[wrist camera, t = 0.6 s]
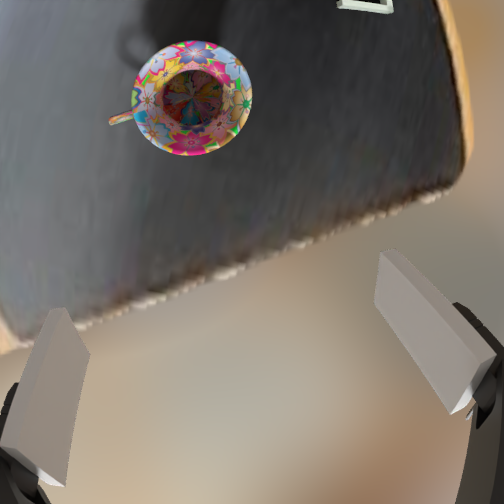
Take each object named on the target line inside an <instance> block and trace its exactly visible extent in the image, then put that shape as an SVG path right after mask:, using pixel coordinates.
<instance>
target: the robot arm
mask: <svg viewBox="0 0 504 504" xmlns="http://www.w3.org/2000/svg"><path fill="white" fill-rule="evenodd" d="M374 305H375V306H376V307H377V309H378V310H379V311H380V313H381V314H382V315H383V317H384V318H385V320H386V321H387V322H388V324H389V325H390V326H391V328H392V329H393V331H394V332H395V334H396V335H397V336H398V338H399V339H400V341H401V342H402V344H403V345H404V346H405V348H406V349H407V351H408V352H409V354H410V355H411V356H412V358H413V359H414V361H415V362H416V364H417V365H418V367H419V368H420V370H421V371H422V372H423V374H424V376H425V377H426V378H427V380H428V382H429V383H430V384H431V386H432V388H433V389H434V391H435V392H436V394H437V395H438V397H439V398H440V400H441V401H442V403H443V405H444V406H445V408H446V409H447V411H448V412H449V414H450V415H451V414H453V413H455V412H457V411H458V410H460V409H462V408H464V407H466V405H467V404H468V402H469V401H470V399H471V398H472V396H473V398H474V399H475V401H476V403H475V404H474V406H473V407H472V409H471V410H470V411H469V413H468V414H467V417H466V419H465V420H468V419H469V418H470V417H471V415H472V414H473V416H472V424H471V431H470V437H469V444H468V449H467V456H466V460H465V465H464V470H463V474H462V479H461V483H460V487H459V491H458V495H457V498H456V502H455V504H504V347H503V346H502V345H501V344H500V342H499V341H498V340H497V339H496V338H495V337H494V336H493V334H492V333H491V332H490V331H489V330H488V329H487V328H486V327H485V326H483V324H482V323H481V321H480V320H479V319H477V317H476V316H475V315H474V314H473V313H472V312H471V311H470V310H469V309H468V308H466V307H465V306H463V305H461V304H460V303H458V302H456V303H453V304H451V303H450V302H449V301H448V300H447V299H446V298H445V297H444V296H443V295H442V293H441V292H440V291H439V290H438V289H437V288H436V287H435V286H434V285H432V283H431V282H430V281H429V280H428V279H427V278H426V277H425V276H424V275H423V274H422V273H421V272H420V271H418V269H417V268H415V267H414V266H413V265H412V264H411V263H410V262H409V261H408V260H407V259H406V258H405V257H404V256H403V255H402V254H401V253H399V251H398V250H397V249H396V248H394V249H390V250H385V251H381V252H380V259H379V268H378V276H377V284H376V291H375V297H374ZM89 357H90V353H89V351H88V350H87V348H86V346H85V344H84V343H83V341H82V339H81V337H80V335H79V333H78V331H77V330H76V328H75V326H74V324H73V322H72V320H71V318H70V316H69V314H68V312H67V310H66V308H65V307H62V308H55V309H50V311H49V313H48V316H47V318H46V320H45V322H44V324H43V326H42V328H41V331H40V333H39V335H38V337H37V340H36V342H35V344H34V347H33V349H32V351H31V354H30V356H29V359H28V361H27V364H26V366H25V369H24V371H23V374H22V376H21V379H20V382H19V383H14V385H13V386H12V387H11V389H10V390H9V392H8V393H7V396H6V399H5V401H4V406H3V407H2V410H1V415H0V504H51V503H50V501H49V499H48V498H47V496H46V494H45V492H44V491H43V489H42V488H41V487H40V485H38V478H40V479H41V480H43V481H44V482H46V483H47V484H49V485H56V486H63V487H65V485H66V476H67V468H68V461H69V453H70V448H71V442H72V436H73V429H74V425H75V419H76V414H77V409H78V404H79V400H80V395H81V390H82V386H83V382H84V377H85V373H86V369H87V364H88V361H89Z"/></svg>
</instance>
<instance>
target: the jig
mask: <svg viewBox="0 0 504 504" xmlns="http://www.w3.org/2000/svg"><path fill="white" fill-rule="evenodd" d="M380 3H381V4H375V3H368V2H361V1H353V0H340V1H338V2H337V8H345V9H355V10H363V11H371V12H378V13H385V14H389V13H392V12H394V11H393V5H392V0H380Z"/></svg>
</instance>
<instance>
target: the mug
mask: <svg viewBox="0 0 504 504" xmlns="http://www.w3.org/2000/svg"><path fill="white" fill-rule="evenodd" d="M251 103H252V88H251V83H250V79H249V76H248V74H247V72H246V70H245V68H244V66H243V65H242V63H241V62H240V61H239V60H238V59H237V58H236V57H235V56H234V55H233V54H232V53H231V52H229V51H228V50H226V49H225V48H223V47H221V46H219V45H216V44H214V43H210V42H206V41H197V40H193V41H183V42H178V43H175V44H172V45H170V46H167V47H165V48H163V49H162V50H160V51H158V52H157V53H156V54H154V55H153V56H152V57H151V58H150V59H149V60H148V61H147V62H146V63H145V64H144V66H143V67H142V68H141V70H140V72H139V73H138V75H137V77H136V80H135V82H134V85H133V90H132V97H131V104H132V110H129V111H126V112H123V113H120V114H117V115H115V116H112V117H110V118H109V124H110V125H114V124H117V123H120V122H123V121H126V120H129V119H132V118H134V119H135V121H136V123H137V125H138V127H139V129H140V130H141V132H142V133H143V134H144V136H145V137H146V138H147V139H148V140H149V141H150V142H152V143H153V144H154V145H156V146H157V147H159V148H161V149H163V150H165V151H168V152H170V153H174V154H179V155H199V154H204V153H208V152H211V151H213V150H216V149H218V148H220V147H221V146H223V145H225V144H226V143H227V142H229V141H230V140H231V139H232V138H233V137H235V135H236V134H237V133H238V132H239V131H240V130H241V128H242V127H243V125H244V123H245V122H246V120H247V117H248V115H249V112H250V108H251Z"/></svg>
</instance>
